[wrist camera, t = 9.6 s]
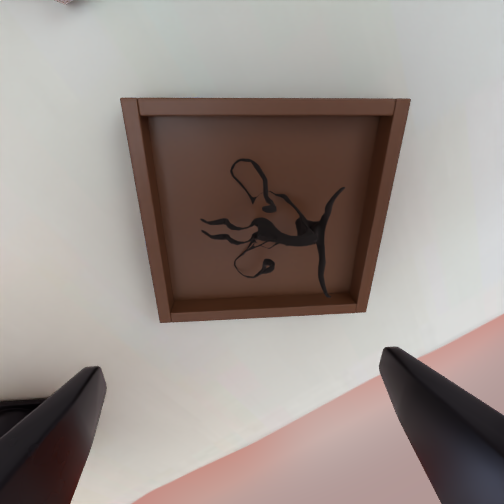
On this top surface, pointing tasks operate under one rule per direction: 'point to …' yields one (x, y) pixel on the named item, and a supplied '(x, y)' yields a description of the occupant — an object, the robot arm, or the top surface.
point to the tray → (261, 199)
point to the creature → (268, 232)
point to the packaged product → (64, 1)
